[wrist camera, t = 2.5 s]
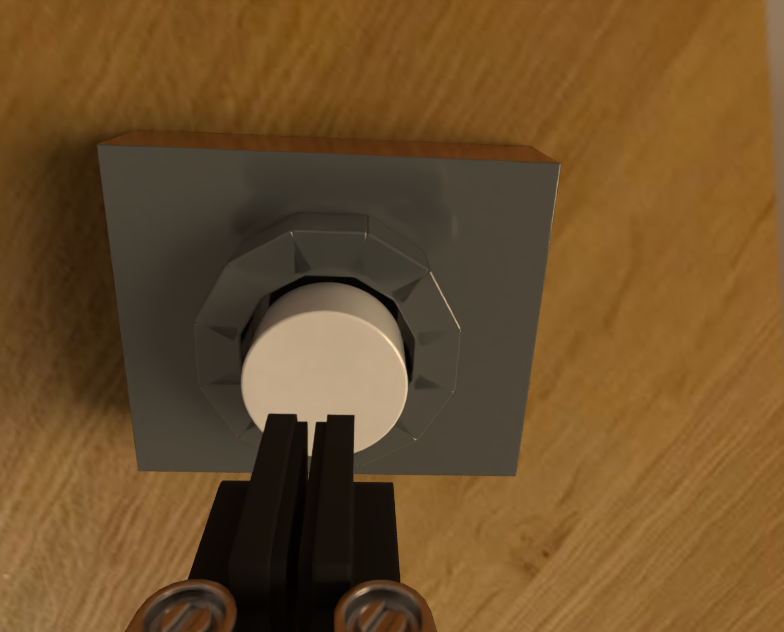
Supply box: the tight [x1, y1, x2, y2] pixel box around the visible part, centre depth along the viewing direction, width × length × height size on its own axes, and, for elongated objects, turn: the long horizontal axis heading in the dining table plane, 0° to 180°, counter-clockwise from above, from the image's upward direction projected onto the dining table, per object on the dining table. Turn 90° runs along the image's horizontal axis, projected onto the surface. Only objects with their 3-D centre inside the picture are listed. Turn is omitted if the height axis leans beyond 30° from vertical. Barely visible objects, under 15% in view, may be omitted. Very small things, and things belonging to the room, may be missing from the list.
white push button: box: [241, 282, 408, 456], centre depth 16 cm, size 4×4×2 cm
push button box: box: [97, 130, 561, 476], centre depth 19 cm, size 10×12×5 cm
